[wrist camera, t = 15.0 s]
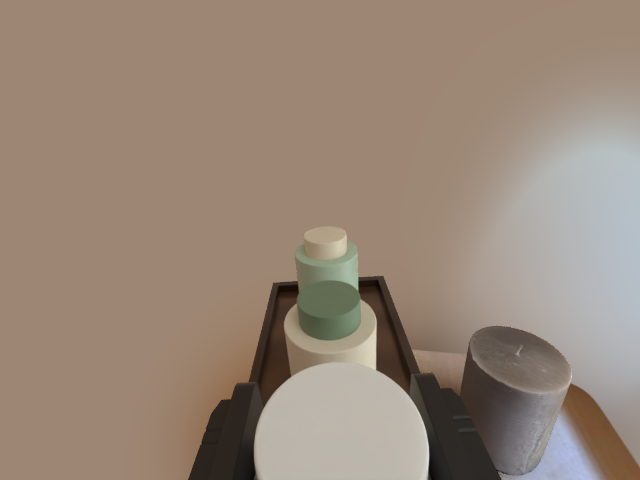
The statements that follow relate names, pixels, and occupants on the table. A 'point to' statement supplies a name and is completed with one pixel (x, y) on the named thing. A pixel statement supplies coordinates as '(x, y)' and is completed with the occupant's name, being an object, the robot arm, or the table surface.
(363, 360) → the middle bottle
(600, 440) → the table surface
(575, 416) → the table surface
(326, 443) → the pill bottle
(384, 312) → the stand
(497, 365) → the pillar candle
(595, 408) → the table surface
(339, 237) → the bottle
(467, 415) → the robot arm
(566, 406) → the table surface
